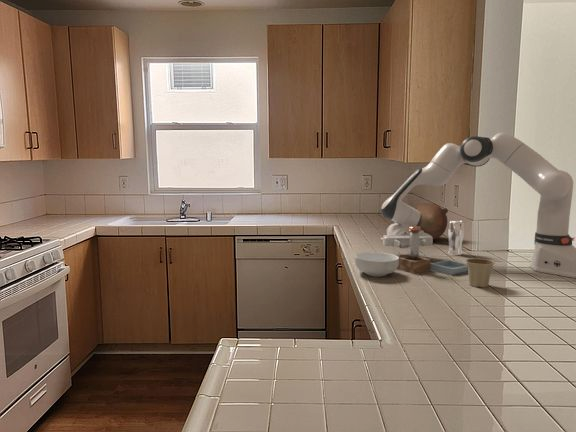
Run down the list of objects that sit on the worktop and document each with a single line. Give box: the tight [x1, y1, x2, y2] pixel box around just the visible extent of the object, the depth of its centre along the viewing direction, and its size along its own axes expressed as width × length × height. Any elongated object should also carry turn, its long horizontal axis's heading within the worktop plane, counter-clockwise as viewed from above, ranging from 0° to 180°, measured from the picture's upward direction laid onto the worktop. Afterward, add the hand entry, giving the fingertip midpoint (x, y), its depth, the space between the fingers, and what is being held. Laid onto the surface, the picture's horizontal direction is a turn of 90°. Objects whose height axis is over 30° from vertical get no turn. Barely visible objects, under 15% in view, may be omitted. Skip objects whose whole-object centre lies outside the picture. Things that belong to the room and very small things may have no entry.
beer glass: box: [447, 220, 465, 256], centre depth 215 cm, size 7×7×15 cm
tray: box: [429, 259, 468, 277], centre depth 186 cm, size 11×11×2 cm
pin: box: [408, 226, 421, 261], centre depth 187 cm, size 5×5×17 cm
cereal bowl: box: [354, 251, 399, 278], centre depth 182 cm, size 17×17×7 cm
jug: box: [414, 202, 449, 240], centre depth 254 cm, size 20×20×30 cm
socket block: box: [396, 255, 431, 274], centre depth 188 cm, size 9×9×4 cm
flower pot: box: [465, 257, 496, 288], centre depth 166 cm, size 9×9×9 cm
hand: (412, 243), depth 190 cm, fingers open, 8 cm apart
